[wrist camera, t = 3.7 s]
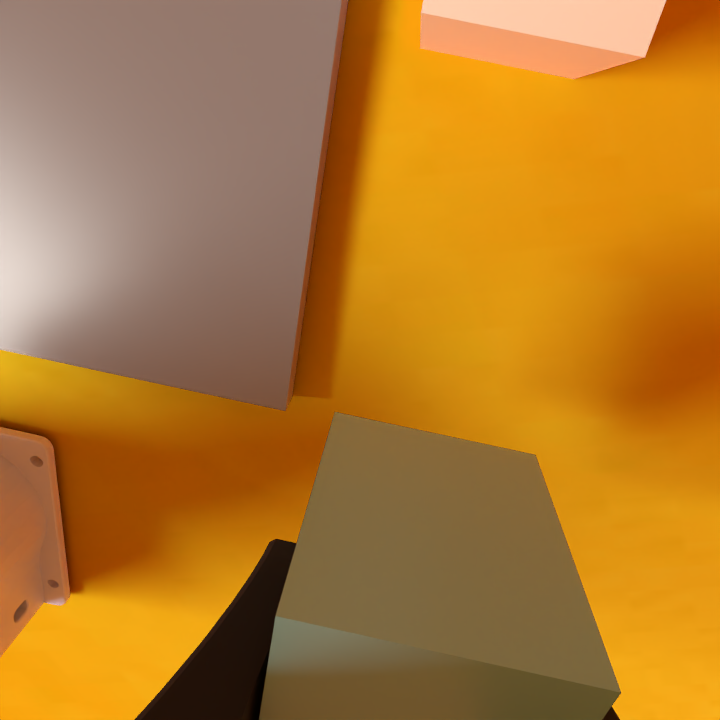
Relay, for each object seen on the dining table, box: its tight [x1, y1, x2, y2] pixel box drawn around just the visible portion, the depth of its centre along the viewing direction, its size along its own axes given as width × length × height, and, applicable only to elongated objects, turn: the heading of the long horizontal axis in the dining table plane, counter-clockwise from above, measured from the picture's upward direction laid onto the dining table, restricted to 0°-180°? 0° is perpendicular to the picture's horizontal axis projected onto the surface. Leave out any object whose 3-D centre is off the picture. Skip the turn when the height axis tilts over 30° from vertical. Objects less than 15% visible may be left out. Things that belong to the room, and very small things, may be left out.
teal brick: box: [259, 412, 621, 720], centre depth 9 cm, size 6×4×4 cm, turn 170°
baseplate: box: [0, 0, 348, 411], centre depth 13 cm, size 20×14×1 cm
